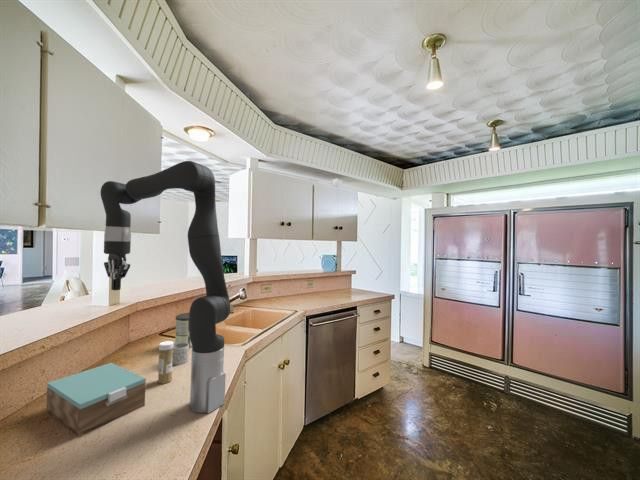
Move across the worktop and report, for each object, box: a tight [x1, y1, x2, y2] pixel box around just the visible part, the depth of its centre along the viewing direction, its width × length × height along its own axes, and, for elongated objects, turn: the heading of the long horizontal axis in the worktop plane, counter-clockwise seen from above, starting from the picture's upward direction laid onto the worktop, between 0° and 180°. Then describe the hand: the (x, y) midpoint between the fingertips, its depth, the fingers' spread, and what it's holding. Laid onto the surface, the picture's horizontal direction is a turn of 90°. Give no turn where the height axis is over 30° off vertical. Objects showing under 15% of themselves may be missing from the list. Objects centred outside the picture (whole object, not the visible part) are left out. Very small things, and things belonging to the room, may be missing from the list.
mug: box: [172, 343, 190, 366], centre depth 113 cm, size 10×7×7 cm
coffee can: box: [174, 312, 192, 349], centre depth 133 cm, size 10×10×14 cm
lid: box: [46, 362, 147, 409], centre depth 82 cm, size 21×16×2 cm
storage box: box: [46, 382, 146, 438], centre depth 82 cm, size 21×16×7 cm
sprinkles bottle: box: [157, 340, 174, 385], centre depth 99 cm, size 5×5×14 cm
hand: (115, 289), depth 97 cm, fingers closed
